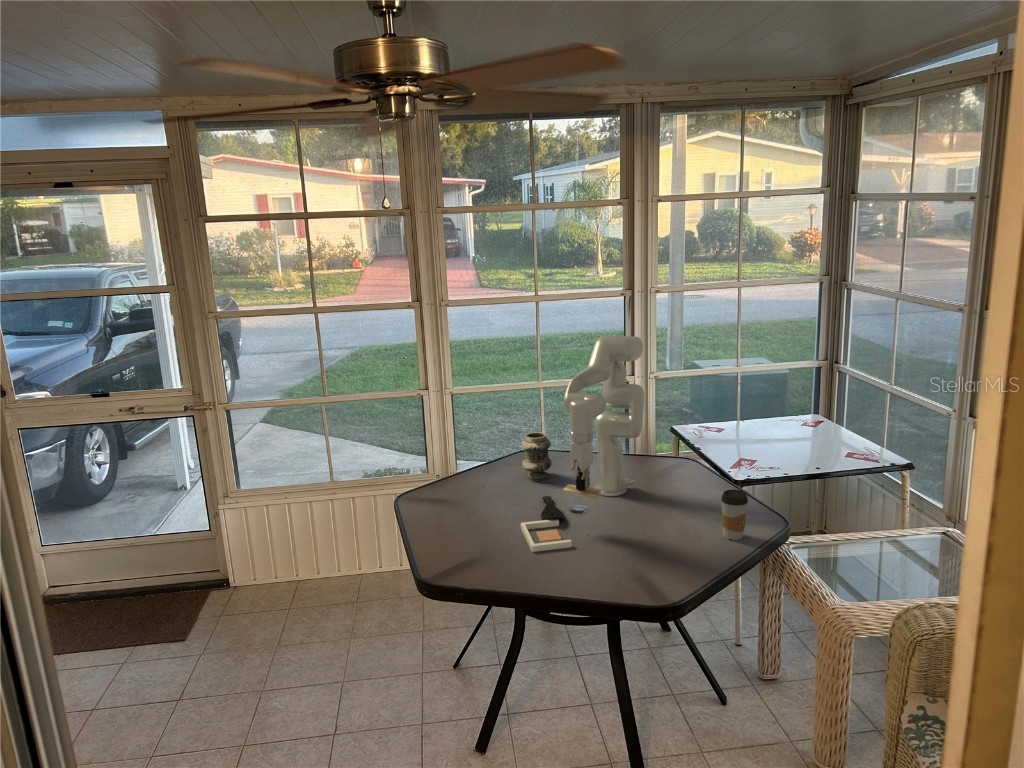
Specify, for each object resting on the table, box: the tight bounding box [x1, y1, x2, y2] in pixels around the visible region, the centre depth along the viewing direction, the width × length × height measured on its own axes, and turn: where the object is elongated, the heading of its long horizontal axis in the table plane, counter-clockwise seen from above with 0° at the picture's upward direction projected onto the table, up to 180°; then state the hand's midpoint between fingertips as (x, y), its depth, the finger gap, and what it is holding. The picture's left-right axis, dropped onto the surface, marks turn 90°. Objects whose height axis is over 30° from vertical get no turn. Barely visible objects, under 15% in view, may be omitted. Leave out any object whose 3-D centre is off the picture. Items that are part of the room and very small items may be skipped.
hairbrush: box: [540, 495, 566, 521], centre depth 256 cm, size 8×4×25 cm
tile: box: [536, 528, 562, 543], centre depth 236 cm, size 7×7×2 cm
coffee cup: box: [721, 489, 749, 541], centre depth 230 cm, size 8×8×15 cm
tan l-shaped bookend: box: [562, 468, 601, 499], centre depth 238 cm, size 5×12×8 cm, turn 62°
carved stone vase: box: [521, 431, 553, 482], centre depth 288 cm, size 12×12×18 cm
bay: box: [520, 519, 573, 553], centre depth 236 cm, size 13×18×2 cm
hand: (582, 486), depth 240 cm, fingers closed on tan l-shaped bookend, 3 cm apart
